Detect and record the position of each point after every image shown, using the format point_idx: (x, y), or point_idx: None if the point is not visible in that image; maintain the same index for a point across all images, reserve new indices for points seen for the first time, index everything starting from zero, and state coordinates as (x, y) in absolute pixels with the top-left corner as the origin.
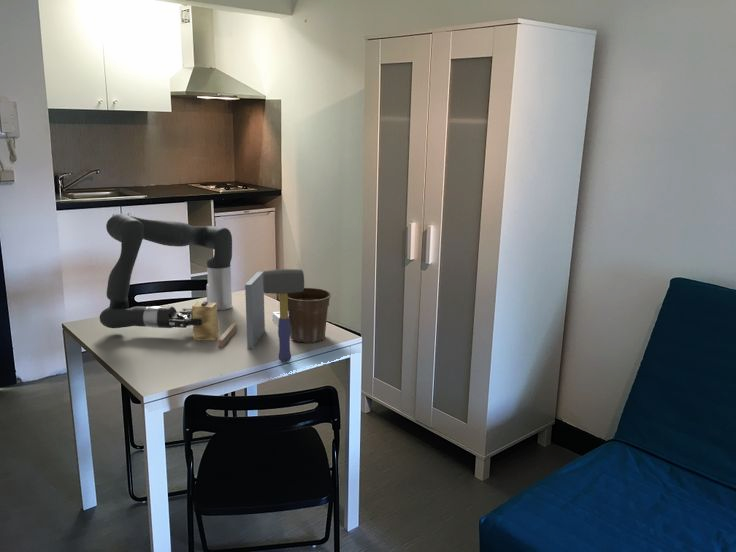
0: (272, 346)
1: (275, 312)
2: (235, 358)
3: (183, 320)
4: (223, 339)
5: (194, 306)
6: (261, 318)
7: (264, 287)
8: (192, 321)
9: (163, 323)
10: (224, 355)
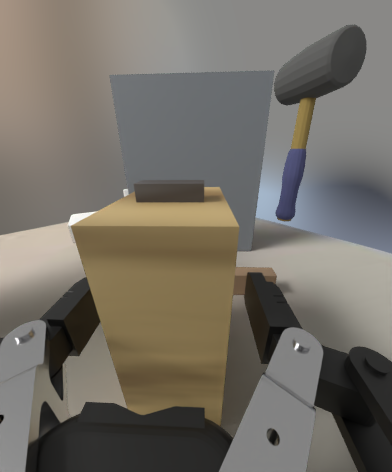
0: None
1: (72, 223)
2: (318, 256)
3: (388, 379)
4: (261, 268)
5: (232, 218)
6: None
7: (361, 66)
8: (292, 318)
9: None
10: (319, 273)
